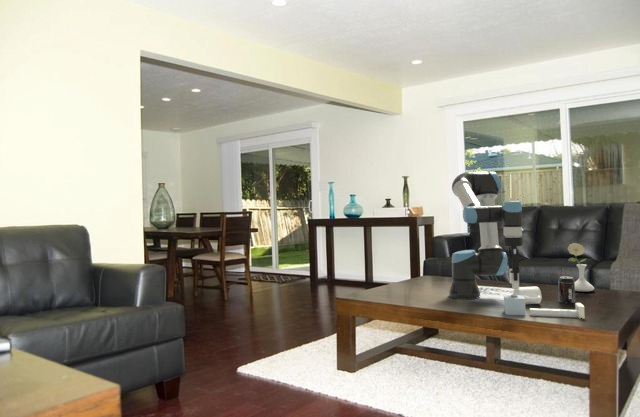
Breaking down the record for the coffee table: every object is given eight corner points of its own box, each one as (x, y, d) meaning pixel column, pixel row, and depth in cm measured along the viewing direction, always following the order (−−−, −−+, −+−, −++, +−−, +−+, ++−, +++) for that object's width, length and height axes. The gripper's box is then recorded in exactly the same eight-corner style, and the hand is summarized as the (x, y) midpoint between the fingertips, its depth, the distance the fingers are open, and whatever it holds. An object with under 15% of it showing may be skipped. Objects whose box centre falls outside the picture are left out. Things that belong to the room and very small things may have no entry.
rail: (531, 316, 207) (531, 304, 207) (529, 313, 214) (529, 301, 214) (584, 318, 201) (584, 306, 201) (580, 314, 208) (580, 303, 208)
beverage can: (576, 304, 228) (575, 278, 227) (559, 304, 230) (559, 278, 230) (574, 301, 234) (573, 276, 234) (558, 301, 236) (557, 275, 236)
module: (505, 314, 213) (504, 296, 213) (504, 310, 220) (503, 293, 220) (525, 315, 210) (525, 297, 210) (523, 311, 218) (523, 294, 217)
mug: (512, 302, 236) (512, 286, 236) (533, 301, 236) (532, 285, 236) (525, 308, 224) (525, 290, 224) (546, 307, 225) (546, 289, 224)
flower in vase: (598, 291, 257) (597, 243, 257) (587, 294, 251) (586, 244, 250) (573, 288, 268) (573, 241, 267) (562, 290, 261) (561, 243, 261)
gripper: (525, 238, 202) (526, 290, 202) (519, 234, 225) (520, 281, 225) (505, 238, 204) (507, 290, 204) (501, 234, 228) (503, 281, 228)
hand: (514, 285), depth 215 cm, fingers open, 13 cm apart
